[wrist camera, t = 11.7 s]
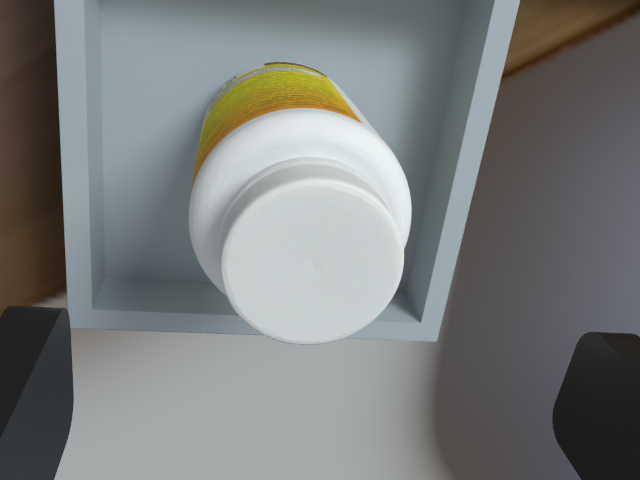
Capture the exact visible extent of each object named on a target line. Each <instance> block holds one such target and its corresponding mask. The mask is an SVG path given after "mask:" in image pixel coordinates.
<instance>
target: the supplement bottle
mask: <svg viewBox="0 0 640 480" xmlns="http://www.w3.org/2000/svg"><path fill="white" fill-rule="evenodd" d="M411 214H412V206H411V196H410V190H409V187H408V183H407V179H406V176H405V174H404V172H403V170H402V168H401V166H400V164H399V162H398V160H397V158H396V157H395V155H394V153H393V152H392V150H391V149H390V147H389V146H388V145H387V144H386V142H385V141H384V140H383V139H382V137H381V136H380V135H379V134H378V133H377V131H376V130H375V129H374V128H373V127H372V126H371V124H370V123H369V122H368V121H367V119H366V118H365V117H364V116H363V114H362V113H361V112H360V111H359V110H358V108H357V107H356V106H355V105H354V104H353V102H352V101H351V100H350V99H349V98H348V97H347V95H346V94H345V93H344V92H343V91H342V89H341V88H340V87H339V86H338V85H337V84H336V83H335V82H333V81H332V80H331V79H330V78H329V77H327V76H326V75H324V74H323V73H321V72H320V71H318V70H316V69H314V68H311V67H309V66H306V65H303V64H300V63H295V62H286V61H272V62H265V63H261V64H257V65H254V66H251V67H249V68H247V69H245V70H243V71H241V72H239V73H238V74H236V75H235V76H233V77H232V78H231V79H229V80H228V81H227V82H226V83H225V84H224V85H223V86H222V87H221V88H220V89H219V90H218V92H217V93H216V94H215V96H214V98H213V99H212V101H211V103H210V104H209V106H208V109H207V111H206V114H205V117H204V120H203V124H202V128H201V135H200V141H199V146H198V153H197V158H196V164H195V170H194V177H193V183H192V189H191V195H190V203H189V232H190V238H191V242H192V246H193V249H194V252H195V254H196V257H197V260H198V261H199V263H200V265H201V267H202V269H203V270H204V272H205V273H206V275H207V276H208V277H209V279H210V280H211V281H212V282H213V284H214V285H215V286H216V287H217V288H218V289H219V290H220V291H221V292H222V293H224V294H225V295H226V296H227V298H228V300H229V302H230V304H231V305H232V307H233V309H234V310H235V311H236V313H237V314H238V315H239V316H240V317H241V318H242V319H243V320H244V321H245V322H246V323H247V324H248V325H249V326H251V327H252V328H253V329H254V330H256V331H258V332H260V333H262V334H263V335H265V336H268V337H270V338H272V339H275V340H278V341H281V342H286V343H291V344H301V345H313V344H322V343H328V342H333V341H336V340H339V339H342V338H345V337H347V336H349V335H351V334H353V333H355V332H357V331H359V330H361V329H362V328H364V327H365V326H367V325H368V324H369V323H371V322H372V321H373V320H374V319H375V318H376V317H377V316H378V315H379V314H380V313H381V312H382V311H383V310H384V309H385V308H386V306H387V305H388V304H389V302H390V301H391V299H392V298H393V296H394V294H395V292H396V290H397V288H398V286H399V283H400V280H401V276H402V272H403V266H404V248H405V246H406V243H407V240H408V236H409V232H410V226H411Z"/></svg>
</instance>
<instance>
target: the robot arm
mask: <svg viewBox="0 0 640 480" xmlns="http://www.w3.org/2000/svg"><path fill="white" fill-rule="evenodd" d="M73 398H74V397H73V373H72V353H71V332H70V318H69V313H68V311H67V309H66V308H47V307H24V306H9V307H7V308H6V310H5V311H4V312H3V314H2V315H1V317H0V480H54V478H55V475H56V472H57V469H58V466H59V463H60V460H61V457H62V454H63V451H64V448H65V445H66V442H67V439H68V435H69V431H70V426H71V420H72V413H73ZM553 429H554V433H555V437H556V440H557V442H558V444H559V446H560V447H561V449H562V450H563V452H564V454H565V455H566V457H567V458H568V460H569V461H570V463H571V464H572V466H573V467H574V469H575V470H576V472H577V474H578V475H579V477H580V478H581V480H640V337H639V336H637V335H635V334H628V333H626V334H625V333H604V332H588V333H586V334H584V335H583V336H582V337H581V338H580V339H579V341H578V343H577V345H576V348H575V350H574V353H573V356H572V359H571V361H570V364H569V367H568V369H567V372H566V375H565V378H564V380H563V383H562V386H561V388H560V391H559V394H558V397H557V399H556V402H555V405H554V409H553Z"/></svg>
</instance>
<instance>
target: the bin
mask: <svg viewBox="0 0 640 480" xmlns="http://www.w3.org/2000/svg"><path fill="white" fill-rule="evenodd" d="M519 3H520V0H54V10H55V33H56V55H57V77H58V100H59V122H60V144H61V167H62V189H63V211H64V234H65V256H66V279H67V301H68V313H69V318H70V328H79V329H80V328H81V329H105V330H134V331H161V332H189V333H216V334H244V335H245V334H246V335H263V334H262V333H260V332H258V331H256V330H254V329H253V328H252V327H251V326H249V325H248V324H247V323H246V322H245V321H244V320H243V319H242V318H241V317H240V316H239V315H238V314H237V313H236V311H235V310H234V309H233V307H232V305H231V304H230V302H229V300H228V298H227V296H226V295H225V294H224V293H222V292H221V291H220V290H219V289H218V288H217V287H216V286H215V285H214V284H213V282H212V281H211V280H210V279H209V277H208V276H207V275H206V273H205V272H204V270H203V269H202V267H201V265H200V263H199V261H198V260H197V257H196V254H195V252H194V249H193V246H192V242H191V238H190V232H189V203H190V195H191V189H192V183H193V177H194V170H195V164H196V158H197V153H198V146H199V141H200V135H201V128H202V124H203V120H204V117H205V114H206V111H207V109H208V106H209V104H210V103H211V101H212V99H213V98H214V96H215V94H216V93H217V92H218V90H219V89H220V88H221V87H222V86H223V85H224V84H225V83H226V82H227V81H228V80H229V79H231V78H232V77H233V76H235V75H236V74H238V73H239V72H241V71H243V70H245V69H247V68H249V67H251V66H254V65H257V64H261V63H265V62H272V61H286V62H295V63H300V64H303V65H306V66H309V67H311V68H314V69H316V70H318V71H320V72H321V73H323V74H324V75H326V76H327V77H329V78H330V79H331V80H332V81H333V82H335V83H336V84H337V85H338V86H339V87H340V88H341V89H342V91H343V92H344V93H345V94H346V95H347V97H348V98H349V99H350V100H351V101H352V102H353V104H354V105H355V106H356V107H357V108H358V110H359V111H360V112H361V113H362V114H363V116H364V117H365V118H366V119H367V121H368V122H369V123H370V124H371V126H372V127H373V128H374V129H375V130H376V131H377V133H378V134H379V135H380V136H381V137H382V139H383V140H384V141H385V142H386V144H387V145H388V146H389V147H390V149H391V150H392V152H393V153H394V155H395V157H396V158H397V160H398V162H399V164H400V166H401V168H402V170H403V172H404V174H405V176H406V179H407V183H408V187H409V190H410V196H411V206H412V214H411V226H410V232H409V236H408V240H407V243H406V246H405V248H404V266H403V272H402V276H401V280H400V283H399V286H398V288H397V290H396V292H395V294H394V296H393V298H392V299H391V301H390V302H389V304H388V305H387V306H386V308H385V309H384V310H383V311H382V312H381V313H380V314H379V315H378V316H377V317H376V318H375V319H374V320H373V321H372V322H371V323H369V324H368V325H367V326H365V327H364V328H362V329H361V330H359V331H357V332H355V333H353V334H351V335H349V336H347V337H345V338H354V339H355V338H356V339H381V340H382V339H384V340H411V341H437V338H438V334H439V330H440V326H441V322H442V318H443V314H444V309H445V305H446V301H447V297H448V293H449V289H450V285H451V281H452V277H453V272H454V269H455V265H456V260H457V256H458V252H459V248H460V244H461V240H462V236H463V232H464V228H465V224H466V220H467V215H468V211H469V207H470V203H471V199H472V195H473V191H474V187H475V183H476V178H477V174H478V170H479V166H480V162H481V158H482V154H483V150H484V146H485V142H486V138H487V134H488V129H489V125H490V121H491V117H492V113H493V109H494V104H495V101H496V97H497V93H498V88H499V84H500V80H501V76H502V72H503V68H504V64H505V60H506V56H507V52H508V48H509V43H510V39H511V35H512V31H513V27H514V23H515V19H516V15H517V11H518V7H519Z"/></svg>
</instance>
